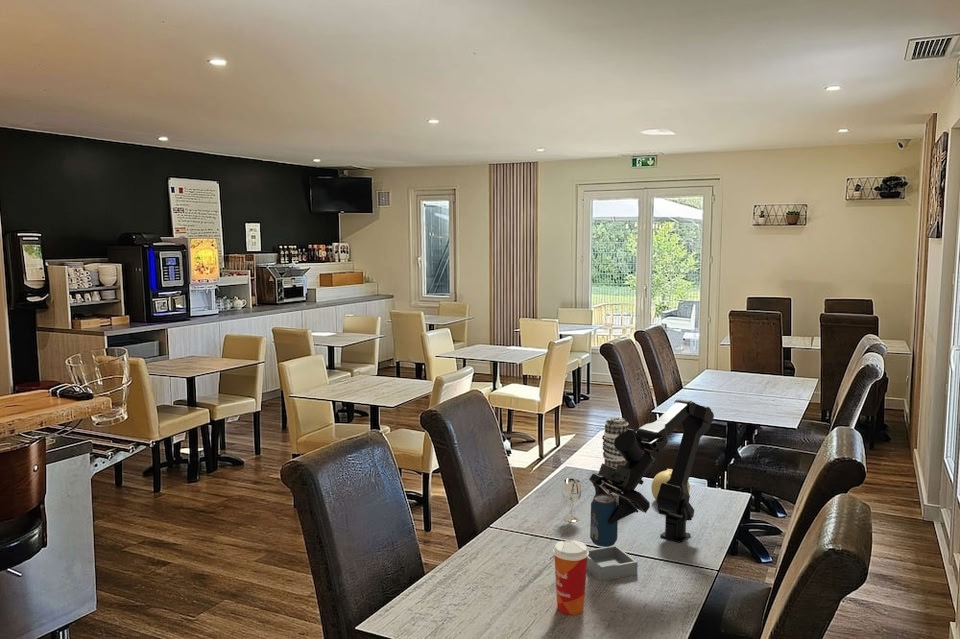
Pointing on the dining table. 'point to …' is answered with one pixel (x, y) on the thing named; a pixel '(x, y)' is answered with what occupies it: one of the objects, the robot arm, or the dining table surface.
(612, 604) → the dining table surface
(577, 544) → the coffee cup
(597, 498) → the soda can
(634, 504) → the robot arm
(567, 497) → the wineglass
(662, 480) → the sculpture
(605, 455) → the decorative candle
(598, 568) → the tray
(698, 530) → the dining table surface
